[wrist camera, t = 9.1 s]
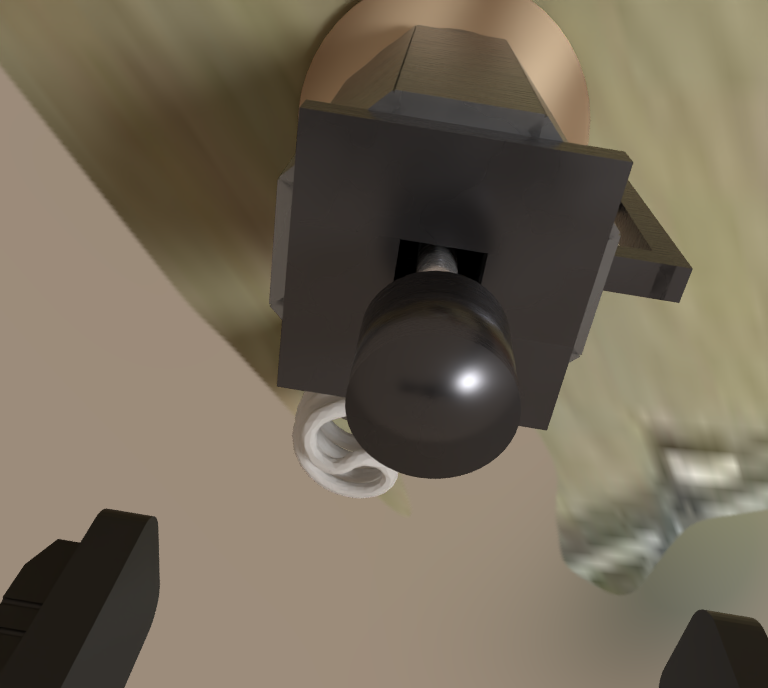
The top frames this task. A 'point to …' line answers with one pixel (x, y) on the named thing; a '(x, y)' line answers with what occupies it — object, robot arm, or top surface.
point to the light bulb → (335, 450)
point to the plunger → (434, 373)
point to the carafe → (455, 211)
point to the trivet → (467, 12)
